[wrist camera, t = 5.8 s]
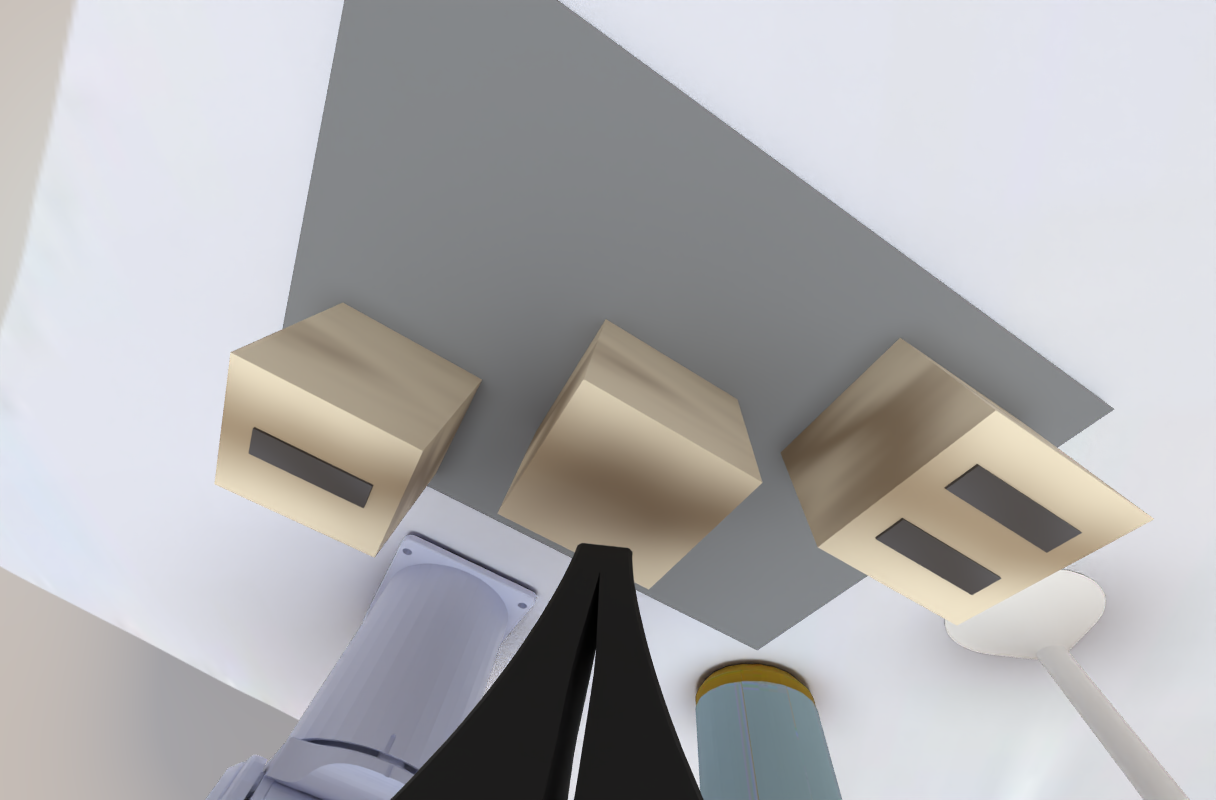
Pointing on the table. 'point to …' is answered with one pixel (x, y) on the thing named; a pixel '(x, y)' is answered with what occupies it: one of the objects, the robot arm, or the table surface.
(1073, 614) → the champagne flute
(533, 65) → the charcoal rubber mat
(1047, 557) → the two-bar birch block
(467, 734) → the robot arm
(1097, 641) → the table surface
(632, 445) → the plain birch block
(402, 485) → the one-bar birch block
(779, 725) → the bottle
